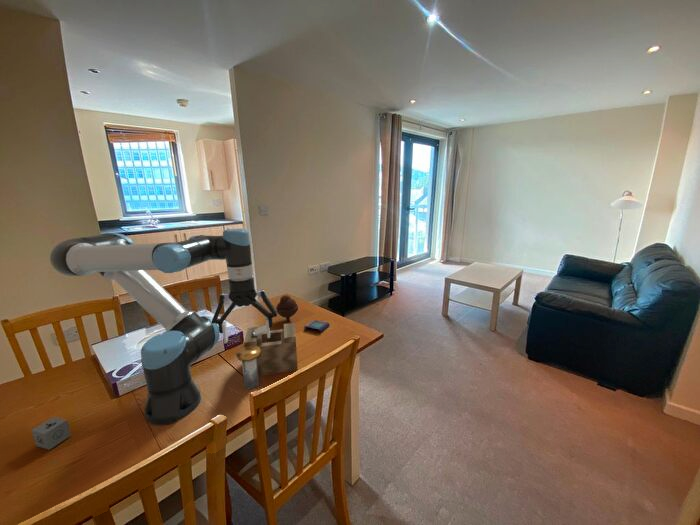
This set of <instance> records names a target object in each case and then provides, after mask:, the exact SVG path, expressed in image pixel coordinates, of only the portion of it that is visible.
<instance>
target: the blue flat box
mask: <svg viewBox="0 0 700 525" xmlns="http://www.w3.org/2000/svg"><path fill="white" fill-rule="evenodd" d="M329 327H330V323H329V322H328V321H325V322H324V320H322V321H319V320H317V319H315V320H313V321H311V322H309V323H307V324H306V325H304V326H303V329H304V331H306V330H307V329H308V328H311V329H314V330H316V329H317V330H319V333H318V334H321V333H323V332H324V331H325V330H326V329H328V328H329Z"/></svg>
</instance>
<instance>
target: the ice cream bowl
mask: <svg viewBox="0 0 700 525" xmlns="http://www.w3.org/2000/svg"><path fill="white" fill-rule="evenodd" d="M275 309H276V311H277V315H279V316H280V317H282V318H285V321H286V322H287V323H288V322H291V321H290V320H291V318H292V317H293V316H294V315H296V313H297V312H298V309H299V305H298V304H297V302H296V300H295V299H293V298H292V297H291V296H290V295H287V294H286V295H283V296H282V295H281V297H280V299H279V302H278V303H277V305H276V306H275Z"/></svg>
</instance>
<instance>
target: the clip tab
mask: <svg viewBox="0 0 700 525" xmlns="http://www.w3.org/2000/svg"><path fill="white" fill-rule="evenodd" d="M265 332H267V327H266V324H265V325H263V326H260V327H258V328H257V329H253V333H252V337H255V336H257V335H260V334H262V333H265Z"/></svg>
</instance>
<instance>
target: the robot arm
mask: <svg viewBox="0 0 700 525" xmlns="http://www.w3.org/2000/svg"><path fill="white" fill-rule="evenodd" d="M249 234H250V232H249V231H248V229H245V228H227V229H224V230H223V231H222V235H205V234H204V235H203V234H200V235H193V236H190V237H189V238H188V239H186V240H183V241H181V240H180V241H174V242H158V243H156V242H155V243H152V242H151V243H136V244H135V242H134V241H133V240H132V239H131V238H130V237H128V236H127V235H125V234H122V233H117V232H113V233H110V232H109V233H108V232H107V233H105V232H104V233H102V234H98V235H89V236H83V237H74V238H70V239H65V240H63V241H61V242H59V243H58V244H56V245H55V246H54V248H52V250H51V252H50V254H49V255H50V256H49V261H50V265H51V267H53V269H54V270H55V271H57V272H58V273H59V274H62V275H64V276H68V277H69V276H70V277H84V276H85V277H86V276H90V275H93V274H95V273H98V274H99V275H101V276H102V277H103V278H104V279H105V280H107V281H108V280H112V281H113V280H114V281H115V282H116V284H118V285H119V286H120V287H121V288H122V289H123V290H124V291H125V292H126V293H127V294H129V296H130V297H132V298H133V299H134V300H135V301H136V302H137V303H138V304H139V306H141V307H142V308H143V310H145V311H146V312H147V313H148V314H150V316H151V317H153V319H154V320H155V321H156V322H158V324H159V325H161V326H162V327H163V328H164V329H165V331H164V332H162V333H158V334H156V335H154V336H152V337H151V338H149V339H148V340H146V342H145V343H144V344H143V345H142V347H141V350H140V357H141V359H140V363H141V365H142V370H143V376H144V379H145V383H146V387H147V397H146V402H145V406H144V417H145V420H146V421H147V423H148V424H151V425H155V426H164V425H171V424H173V423H176V422H178V420H181V419H183V418H185V417H187V416H189V415H190V414H191V413H193V412H194V411H195V410H196V409H197V407H198V406H199V405H200V403H201V400H202V396H201V391H200V389H199V388H198V386H197V384H196V383H195V381H194V380H193V378H192V373H191V366H192V365H193V364H194V363H195V362H197V361H198V360H199V359H201V357H202V356H204V355H205V354H206V353H207V352H210V350H212V349H213V348H214V347H215V346H216V345H217V343H218V342H219V339H220V337H221V336H220V334H222V336H223V343H224V344H225V345H226V344H227V343H228V341H229V335H228V327H227V321H226V319H227V317H228V316H229V315H230V314H231V312H232V311H233V310H234V309H235V307H240V308H241V307H249V306H250V305H251V306H252V307H253V308H255V309H257V311H259V312H260V313H261V314H262V315H263V316H265V325H266V327H267V337H268V338H270V331H271V330H270V329H271V328H273V324H274V323H273V319H274V318H276V317H278V313H277V310H276V307H275V306H274V305H273V303H272V302H271V301H270V299H269V298H268V296H267V293H266V291H265V289H264V288H263V289H261V290H256V287H255V280H254V270H253V267H254V266H253V261H252V252H251V251H252V250H251V244H252V243H251V238H250V235H249ZM211 260H213V261H214V260H215V261H217V260H220V261H221V260H222V261H224V260H225V262H226V269H227V271H226V272H227V278H228V288H229V293H225V292H221V293H220V295H219V303H218V305H217V306H216V310H215V312H214V314H213V317H210V316H206V315H201V316H200V315H199V314H198V313H197V312H196V311H194V310H187V309H186V308H185V307H184V306H183V305H182V304H181V303H180V302H179V301H178V300H177V299H176V298H174V296H172V295H171V294H170V293H169V292H168V290H166V289H165V288H164V287H163V286H162V285H161V283H159V282H158V281H157V280H156V279H155V278H154V277H153V275H151V274H150V273H149V271H161V272H162V273H164V274H173V273H178V272H181V271H183V270H185V269H188V268H192V267H193V266H197V265H199V264H203V263H205V262H208V261H211ZM257 297H259V298H260V299H262V301H263V303H264V304H265V306H266V307H267V308H265V307H264V306H263V305H262V304H261V303H260V302H259V301H258V300H257V299H256V298H257ZM228 299H230V301H231V303H230V305H229V306H228V308H227V309H226V310H225V311H224V312H223V314H222V315H221V317H219V315H220V313H221V311H222V308H223V306H224V303H225V302H226V301H227V300H228Z"/></svg>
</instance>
